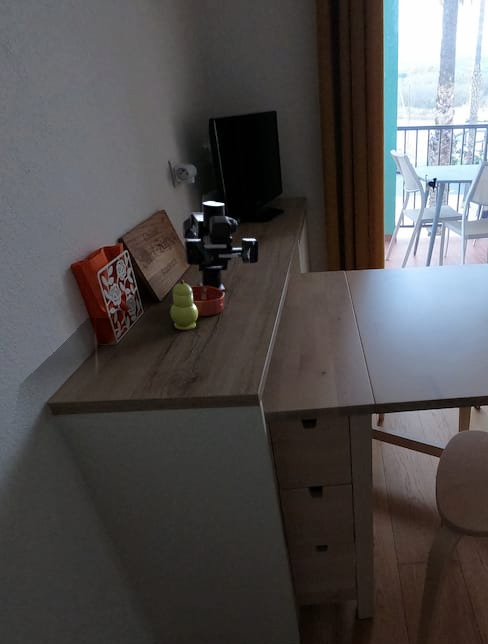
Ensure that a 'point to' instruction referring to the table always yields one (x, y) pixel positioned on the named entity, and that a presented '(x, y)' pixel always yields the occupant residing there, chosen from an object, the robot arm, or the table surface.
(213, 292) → the bowl
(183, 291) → the pear
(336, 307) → the table surface
